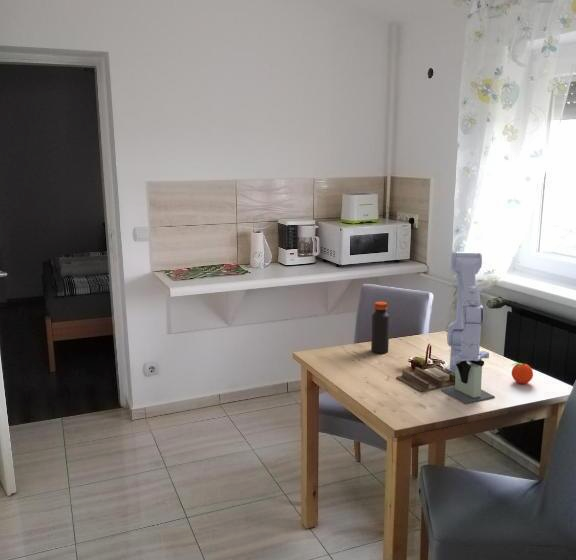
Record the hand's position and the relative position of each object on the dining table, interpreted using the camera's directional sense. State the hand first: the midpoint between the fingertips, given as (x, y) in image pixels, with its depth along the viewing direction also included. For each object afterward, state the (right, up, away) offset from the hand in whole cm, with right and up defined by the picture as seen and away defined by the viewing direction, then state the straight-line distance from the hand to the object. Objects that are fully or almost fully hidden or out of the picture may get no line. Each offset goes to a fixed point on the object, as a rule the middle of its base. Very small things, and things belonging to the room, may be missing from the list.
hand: (468, 381), depth 197 cm
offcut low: (-7, -1, +14) cm, 16 cm away
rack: (-11, -2, +12) cm, 16 cm away
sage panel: (0, -4, +1) cm, 4 cm away
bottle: (-23, +5, +43) cm, 49 cm away
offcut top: (-7, 0, +14) cm, 15 cm away
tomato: (+21, -2, +10) cm, 23 cm away
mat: (0, -4, +1) cm, 4 cm away
